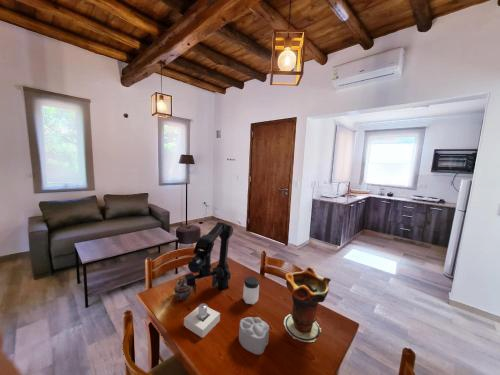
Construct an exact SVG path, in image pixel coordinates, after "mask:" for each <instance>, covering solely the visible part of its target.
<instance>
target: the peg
mask: <svg viewBox="0 0 500 375" xmlns="http://www.w3.org/2000/svg"><path fill="white" fill-rule="evenodd" d="M198 307H199V309H198V320H200V321H202V322H203V321H204V320H205V319H207V307H208V304H207V303H204V302H203V303H200V304H199V305H198Z"/></svg>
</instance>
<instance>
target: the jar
mask: <svg viewBox="0 0 500 375" xmlns="http://www.w3.org/2000/svg"><path fill="white" fill-rule="evenodd" d="M259 284H260V280H259V278H258V277H256V276H253V275H251V276H247V277H245V279H244V282H243V289H242V290H243V291H242V292H243V293H242V299H243V300H244V302H245V304H247V305H249V304H250V305H255V304H256V303H257V302H258V301H259V297H260V296H259V293H260V285H259Z"/></svg>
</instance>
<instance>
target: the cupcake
mask: <svg viewBox="0 0 500 375" xmlns="http://www.w3.org/2000/svg"><path fill="white" fill-rule="evenodd" d="M173 290H174V291H173V292H174V295H175V299H176V300H177V301H179V302H180V301H181V302H183V301H186V300H188V299H189V298H190V296H191V293H192V290H193V287H192V286H191V287H190V286H187V285H186V282H185V280H184V279H181V278H179V279H178V280H177V283H176V284H175V286H174V288H173Z"/></svg>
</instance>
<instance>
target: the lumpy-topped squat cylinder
mask: <svg viewBox="0 0 500 375" xmlns="http://www.w3.org/2000/svg"><path fill="white" fill-rule="evenodd" d="M238 331H239V332H238V341H239V343H240V345H241V346H242V348H243V349H245V350H246V351H248V352H250V353H251V354H254V355H261V354H263V353H264V351H265V348H266V347H267V345H268V344H269V339H270V338H269V336H270V325H269V324H268V323H267V322H266V321H264V320H262V319H261V318H260V317H258V316H256V317H253V316H247V317H244V318H241V319H240V321H239V329H238Z"/></svg>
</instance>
